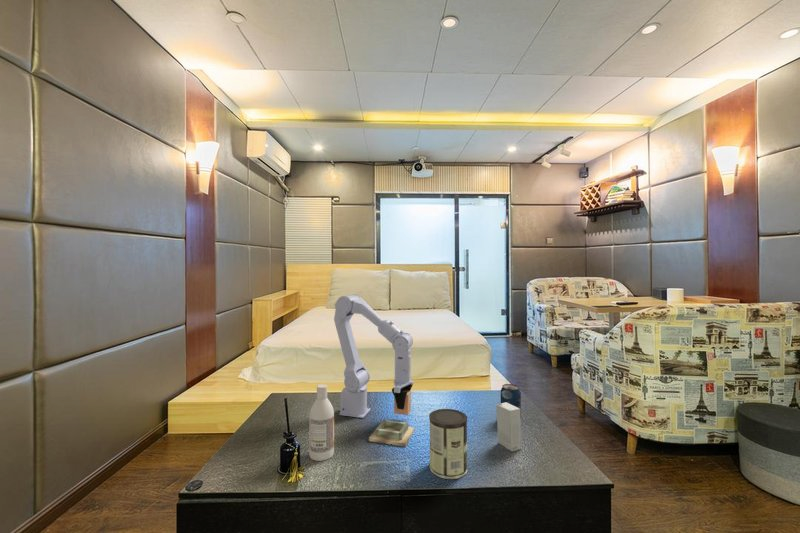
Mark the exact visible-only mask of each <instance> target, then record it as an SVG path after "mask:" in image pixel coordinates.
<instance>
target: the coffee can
mask: <svg viewBox="0 0 800 533" xmlns="http://www.w3.org/2000/svg"><path fill="white" fill-rule="evenodd" d="M428 418H429V469H430V470H429V471H430V472H431V473H432V474H433V475H434V476H436V477H439V478H441V479H444V480H456V479H460V478H463V477H464V476H466V475H467V473H468V416H467V415H466V413H464V412H463V411H461V410H457V409H452V408H439V409H435V410H433V411H431V412H430V413H429V414H428Z"/></svg>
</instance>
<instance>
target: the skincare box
mask: <svg viewBox="0 0 800 533" xmlns="http://www.w3.org/2000/svg"><path fill="white" fill-rule="evenodd" d="M496 422H497V423H496V424H497V427H496V428H497V443H498V445H501V446H503V447H504V448H505V449H506V450H509V451H510V452H516V451H518V450H521V449H522V429H521V427H522V424H521V419H520V409H519V408H517V407H515V406H513V405H511V404H509V403H507V402H505V403H501V402H500V403H498V404H496Z"/></svg>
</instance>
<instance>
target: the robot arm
mask: <svg viewBox="0 0 800 533" xmlns="http://www.w3.org/2000/svg"><path fill="white" fill-rule="evenodd" d="M334 308H335V310H334V311H335V312H334V317H333V320H334V324H335V329H336V332H337V336H338V340H339V343H340V344H339V345H340V348H341V350H342V354H343V355H342V356H343V359H344V362H345V368H344V371H343V375H344V381H343V383H344V386H345V387H343V389H342V390H341V392H340V398H339V399H340V403H339V404H340V405H339V406H340V410H339V411H340V412H339V416H343V417H345V416H346V417H351V418H352V417H353V418H360V419H363V418H364V417H365V416H366V415H367V414H368V413H369V412H370V411H371V410H372V409H371V408H370V407H368V405H367V403H368V387H367V386H368V384H367V383H369V381H370V378H371V377H370V376H371V375H370V373H369V371H368V370H367V368H366V366H365V363H363V361H361V358H360V355H359V352H358V347H357V345H356V344H357V343H356V341H355V338H354V334H353V330H352V326H351V323H350V320H351V319H352V317H353V316H354V314H358V315H362V316H363V317H364V318H366V319H367V320H368V321H370V322H371V323H372V324H373V325H375V327H377V331H378V333H379V334H380V335H381V336H382V337H384V338H385V339H386V340H387V341H388V342H389V343H390V344H392V345H391V346H392V349H393V350H394V380H393V384H394V386H393V387H392V388H391V394H393V396H394V397H395V400H396V404H397V408H398V409H402V410H403V409H404V405H405V399H406V395H407V392H408V391H411V390H412V388H413V385H414V383H415V381H414V380H412V379H411V376H412V374H411V370H412V369H411V366H412V365H411V362H412V359H411V357H412V355H411V352H412V350H411V349H412V348H411V347H412V346H413V345H414V342H413V340H414V339H413V337H412V336H411V335H410V333H408V332H405V331H404V330H403V329H401V328H398V326H397V325H395V321H393V320H390V319H383V317H382V316H381V315H379V314H378V313H377V312H376V311H375V310H374V309H373V308H372V306H370V305H369V304H368V303H367V302H366V300H365V299H364V298H362V297H361V296H359V295H358V294H350V295H342V296H339V297H338V298H337V300H336V302H335V303H334Z"/></svg>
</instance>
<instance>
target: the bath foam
mask: <svg viewBox="0 0 800 533" xmlns="http://www.w3.org/2000/svg"><path fill="white" fill-rule="evenodd" d="M334 410H335V409H334V407H333V405H332V403H331V402H330V400H329V399H328V385H327V384H317V386H316V399H315V401H314V402H313V404H312V406H311V408H310V410H309V434H308V436H309V440H308V442H309V447H308V448H309V451H308V452H309V457H310V459H311V460H313V461H316V462H322V461H326V460H329V459H330V458H332V457H333V456H334V453H335V411H334Z"/></svg>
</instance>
